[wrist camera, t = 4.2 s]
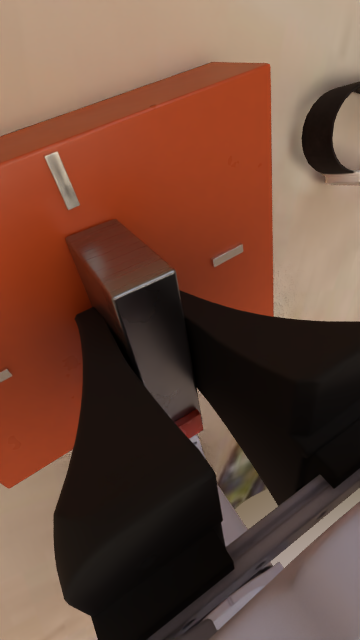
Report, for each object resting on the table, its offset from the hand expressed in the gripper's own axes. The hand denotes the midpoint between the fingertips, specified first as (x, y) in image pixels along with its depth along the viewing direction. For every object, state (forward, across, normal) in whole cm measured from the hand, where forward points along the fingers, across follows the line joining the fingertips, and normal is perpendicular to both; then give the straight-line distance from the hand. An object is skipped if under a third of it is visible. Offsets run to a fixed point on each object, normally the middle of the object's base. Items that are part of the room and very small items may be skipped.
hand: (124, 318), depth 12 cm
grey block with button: (0, 0, 0) cm, 0 cm away
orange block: (+3, 0, 0) cm, 3 cm away
